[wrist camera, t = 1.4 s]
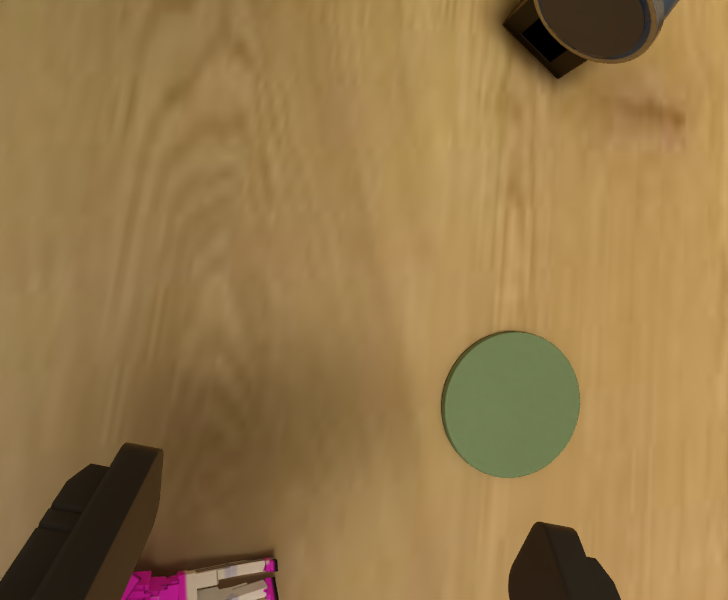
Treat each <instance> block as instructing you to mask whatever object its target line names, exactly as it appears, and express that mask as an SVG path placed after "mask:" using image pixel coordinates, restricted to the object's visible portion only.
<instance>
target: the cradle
mask: <svg viewBox="0 0 728 600" xmlns="http://www.w3.org/2000/svg"><path fill="white" fill-rule="evenodd" d="M503 26H504V27H505V28H506V29H507V30H508V31H510V32H511V33H512V34H513V35H514V36H515V37H516V38H517V39H518V40H519V41H520V42H521V43H522V44H523V45H524V46H525V47H526V48H527V49H528V50H529V51H530V52H531V53H532V54H533V55H534V56H535V57H536V58H537V59H538V60H539V61H540V62H541V63H542V64H543V65H544V66H545V67H546V68H547V69H548V70H549V71H550V72H551V73H552V74H553V75H554V76H555V77H556V78H557V79H559V78H561V77H562V76H563V75H565V74H567V73H568V72H570V71H571V70H573V69H575V68H576V67H578V66H579V65H581V64H582V63H584V62H586V61H587V60H588V59H585V58H583V57H580V56H578V55H576V54H574V53H573V52H571V51H570V50H568V49H566V48H565V47H564V46H563V45H561V44H560V43H559V42H558V41H557V40H556V39H555V38H554V37H553V36H552V35H551V34H550V33H549V32H548V30H547V29H546V28H545V26H544V25H543V23H542V21H541V20H540V18H539V16H538V13H537V11H536V8H535V4H534V0H521V1H520V3H519V4H518V5H517V6H516V8H515V9H514V10H513V11H512V13H511V14H510V15H509V17H508V18H507V19H506V20H505V22H504V23H503Z"/></svg>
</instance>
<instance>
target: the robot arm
mask: <svg viewBox="0 0 728 600" xmlns="http://www.w3.org/2000/svg"><path fill="white" fill-rule="evenodd" d="M162 465H163V450H162V449H159V448H154V447H148V446H143V445H138V444H132V443H127V442H126V443H124V444H123V446H122V447H121V448H120V450H119V452H118V453H117V455H116V457H115V458H114V460H113V462H112V463H111V465H110V467H106V466H101V465H95V464H89V465H88V466H87V467H85V468H84V469H83V470H81V471H80V472H79V473H77V474H76V475H75V476H73V477H72V478H71V479H69V480H68V481H67V482H66V483H65V485H64V486H63V488H62V489H61V491H60V492H59V494H58V495H57V497H56V498H55V500H54V501H53V503H52V506H51V508H50V509H48V510H47V512H46V513H45V515H44V517H43V518H42V520H41V521H40V523H39V526H38V528H36V529H35V530H34V532H33V533H32V535H31V536H30V538H29V539H28V541H27V542H26V544H25V545H24V547H23V548H22V550H21V551H20V553H19V554H18V556H17V557H16V559H15V560H14V562H13V563H12V565H11V566H10V568H9V569H8V571H7V572H6V574H5V575H4V577H3V578H2V580H1V581H0V600H121V599H122V596H123V594H124V592H125V589H126V587H127V585H128V583H129V580H130V578H131V576H132V574H133V571H134V569H135V567H136V564H137V562H138V560H139V558H140V555H141V553H142V551H143V548H144V546H145V544H146V542H147V539H148V537H149V535H150V532H151V530H152V527H153V524H154V521H155V518H156V515H157V511H158V506H159V500H160V488H161V477H162ZM508 591H509V599H510V600H621V599H620V596H619V594H618V591H617V589H616V586H615V584H614V582H613V581H612V579H611V578H610V577H609V575H608V574H607V573H606V571H605V570H604V569H603V567H602V566H601V565H600V564H599V562H598V561H597V560H596V558H590V557H586V555H585V552H584V549H583V547H582V544H581V542H580V539H579V536H578V534H577V532H576V531H575V530H574V529H573V528H570V527H565V526H559V525H554V524H549V523H544V522H536V523H535V524H534V525H533V527H532V528H531V530H530V532H529V534H528V536H527V538H526V540H525V542H524V544H523V546H522V547H521V549H520V551H519V553H518V555H517V557H516V559H515V561H514V563H513V565H512V567H511V570H510V574H509V582H508Z"/></svg>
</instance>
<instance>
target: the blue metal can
mask: <svg viewBox="0 0 728 600" xmlns="http://www.w3.org/2000/svg"><path fill="white" fill-rule="evenodd" d="M678 1H679V0H534V4H535V8H536V11H537V13H538V16H539V18H540V20H541V21H542V23H543V25H544V26H545V28H546V29H547V30H548V32H549V33H550V34H551V35H552V36H553V37H554V38H555V39H556V40H557V41H558V42H559V43H560V44H561V45H563V46H564V47H565V48H566V49H568V50H570V51H571V52H573V53H574V54H576V55H578V56H580V57H583V58H585V59H588V60H591V61H594V62H599V63H607V64H617V63H624V62H627V61H631V60H633V59H635V58H637V57H639V56H640V55H642V54H643V53H644V52H645V51H646V50H647V49H648V48H649V47H650V46H651V44H652V43H653V42H654V40H655V39H656V38H657V36H658V34H659V33H660V31H661V28H662V25H663V21H664V20H665V19H666V17H667V16H668V15H669V13H670V12H671V11H672V9H673V8H674V7H675V5H676V4H677V3H678Z"/></svg>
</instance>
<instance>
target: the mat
mask: <svg viewBox="0 0 728 600" xmlns="http://www.w3.org/2000/svg"><path fill="white" fill-rule="evenodd" d="M579 409H580V393H579V386H578V382H577V378H576V375H575V373H574V370H573V368H572V366H571V364H570V363H569V361H568V360H567V358H566V357H565V356H564V354H563V353H562V352H561V351H560V350H559V349H558V348H557V347H556V346H554V345H553V344H552V343H551V342H549V341H547V340H545V339H544V338H541V337H539V336H536V335H533V334H529V333H525V332H516V331H509V332H501V333H496V334H493V335H490V336H487V337H485V338H483V339H481V340H479V341H478V342H476V343H475V344H473V345H472V346H471V347H470V348H468V349H467V350H466V351H465V352H464V353H463V354H462V355H461V356H460V358H459V359H458V360H457V362H456V363H455V365H454V366H453V368H452V370H451V371H450V373H449V375H448V378H447V381H446V383H445V387H444V391H443V397H442V418H443V424H444V428H445V431H446V434H447V436H448V439H449V441H450V443H451V444H452V446H453V448H454V449H455V450H456V452H457V453H458V454H459V455H460V456H461V457H462V458H463V459H464V460H465V461H466V462H467V463H468V464H470V465H471V466H473V467H474V468H476V469H477V470H479V471H481V472H483V473H485V474H488V475H491V476H495V477H501V478H514V477H521V476H525V475H529V474H531V473H534V472H536V471H538V470H540V469H542V468H544V467H545V466H547V465H548V464H549V463H551V462H552V461H553V460H554V459H555V458H556V457H557V456H558V455H559V454H560V453H561V452H562V451H563V449H564V448H565V447H566V445H567V443H568V442H569V440H570V438H571V436H572V434H573V432H574V430H575V427H576V424H577V420H578V416H579Z"/></svg>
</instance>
